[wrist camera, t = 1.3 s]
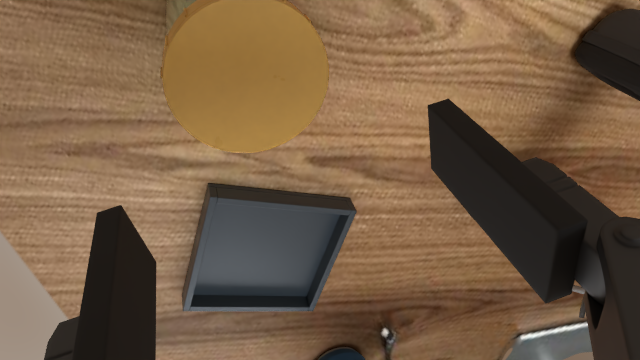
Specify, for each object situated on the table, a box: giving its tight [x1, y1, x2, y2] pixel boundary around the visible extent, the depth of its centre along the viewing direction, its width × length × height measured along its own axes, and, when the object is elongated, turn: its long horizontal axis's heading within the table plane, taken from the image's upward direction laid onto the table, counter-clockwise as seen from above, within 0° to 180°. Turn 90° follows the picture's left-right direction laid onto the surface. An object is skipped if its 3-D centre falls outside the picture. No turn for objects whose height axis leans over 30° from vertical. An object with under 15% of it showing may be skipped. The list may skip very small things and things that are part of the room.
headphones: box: [468, 9, 640, 294], centre depth 37 cm, size 22×6×20 cm, turn 150°
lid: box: [161, 0, 329, 153], centre depth 24 cm, size 8×8×2 cm
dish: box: [182, 183, 357, 311], centre depth 43 cm, size 13×13×2 cm
